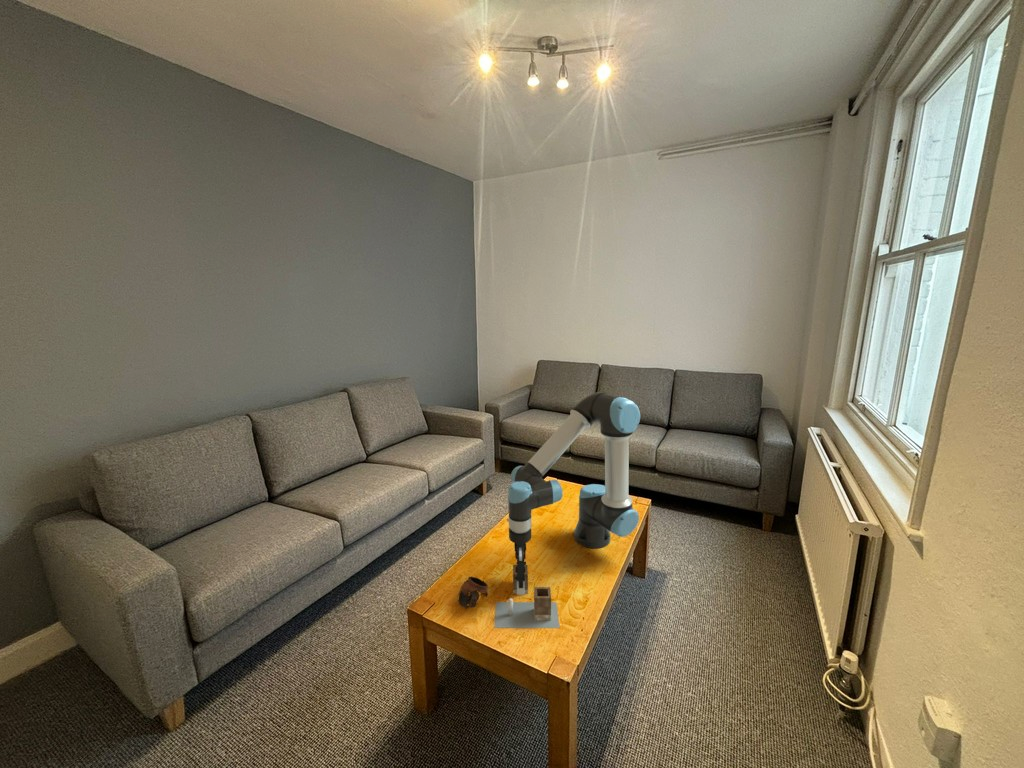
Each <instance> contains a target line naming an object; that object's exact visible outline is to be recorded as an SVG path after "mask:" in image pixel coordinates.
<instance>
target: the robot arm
mask: <svg viewBox="0 0 1024 768" xmlns="http://www.w3.org/2000/svg"><path fill="white" fill-rule="evenodd" d="M639 408H640V407H638V404H636V403H635V402H634V401H632V400H630V399H628V398H626V397H623V396H617V395H614V394H611V393H607V392H604V391H597V392H593V393H591V394H588V395H587V396H585V397H584V398H583V399H581V400H580V401H578V403H577V404H575V405H574V407H572V409H571V410H570V411H569V412H570V414H569V416H568V417H567V418H566V419H565V420H564V421H563V422H562V424H561V425H560V426H558V428H557V429H556V430H555V432H553V434H552V435H551V436H550V437H549V438H548V439H547V440H546V441H545V442H544V443H543V445H541V447H540V448H539V449H538V450H537V451H536V452H535V454H534V455H533V456H532V457H531V458H530V459H529V460H528V461H527V463H525V464H524V465H518V466H515V468H513V470H512V471H511V473H510V474H511V475H510V479H511V481H512V483H510V485H508V491H507V501H508V505H507V506H508V518H507V519H506V521H507V522H508V538H509V540H510V541H511V542H512V543H514V544H513V545H514V547H513V548H514V552H515V556H514V557H515V559H516V565H517V577H515V580H517V594H516V596H525V595H526V594H525V574H524V565H527V561H525V560H526V558H527V556H526V551H527V543H529V542H530V541H531V539H532V510H534V509H538V508H542V507H545V506H549V505H553V504H555V503H558V502H560V501H561V500H562V498H563V496H564V494H563V492H564V491H563V488H562V485H561V483H560V482H559V481H558V480H557V479H549V480H545V479H544V478H543V476H544V475H545V474H546V473H547V472H548V471H549V470H550V469H551V467H553V465H554V464H555V463H556V462H557V461H558V459H559V458H560V457H561V456H562V455H563V454H564V453H565V452H566V451H567V449H568V448H569V447H570V446H571V445H572V444H573V443H574V442H575V440H576V439H577V438H578V437H579V436H580V435H581V434H582V432H583V431H584V430H585V429H589V428H590V427H592V425H594V423H599V424H600V434H601V435H602V436H603V438H604V480H605V481H604V484H598V483H597V484H596V483H591V484H586V485H583V486H582V487H581V488H580V490H579V495H578V521H577V523H576V526H575V528H574V530H573V531H574V532H573V538H574V540H575V541H576V542H577V544H579V545H581V546H583V547H585V548H590V549H601V548H605V547H607V546H608V545H609V544H610V543H611V534H614V535H616V536H617V537H621V538H623V537H628V536H629V535H631V534H632V532H633V531H635V529H636V528H637V527H638V524H639V522H640V521H639V520H640V516H639V515H640V514H639V512H637V510H636V509H634V508H633V504H634V503H633V498H632V496H630V495H629V475H630V474H629V472H630V471H629V469H630V468H629V462H630V461H629V458H630V457H629V449H630V448H629V446H630V444H629V439H630V437H632V436H633V434H634V432H635V431H636V429H637V428H638V425H639V424H640V420H641V412H640V409H639Z"/></svg>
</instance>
